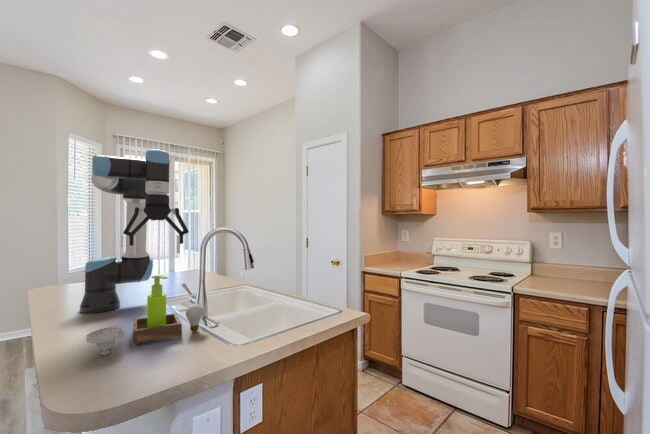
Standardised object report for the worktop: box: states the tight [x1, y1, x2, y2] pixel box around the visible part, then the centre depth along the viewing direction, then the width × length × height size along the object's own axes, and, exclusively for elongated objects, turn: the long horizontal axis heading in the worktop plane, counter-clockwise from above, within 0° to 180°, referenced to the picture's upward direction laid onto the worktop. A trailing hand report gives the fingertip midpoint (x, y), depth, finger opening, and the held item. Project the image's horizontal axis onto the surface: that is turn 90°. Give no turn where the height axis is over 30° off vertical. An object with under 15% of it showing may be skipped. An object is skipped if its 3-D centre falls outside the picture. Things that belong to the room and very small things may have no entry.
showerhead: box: [86, 326, 125, 356], centre depth 96 cm, size 9×7×10 cm
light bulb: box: [185, 303, 204, 333], centre depth 114 cm, size 6×6×10 cm
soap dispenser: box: [146, 275, 169, 328], centre depth 111 cm, size 6×7×20 cm
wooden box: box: [132, 312, 183, 348], centre depth 111 cm, size 14×14×5 cm
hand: (157, 254), depth 111 cm, fingers open, 13 cm apart
